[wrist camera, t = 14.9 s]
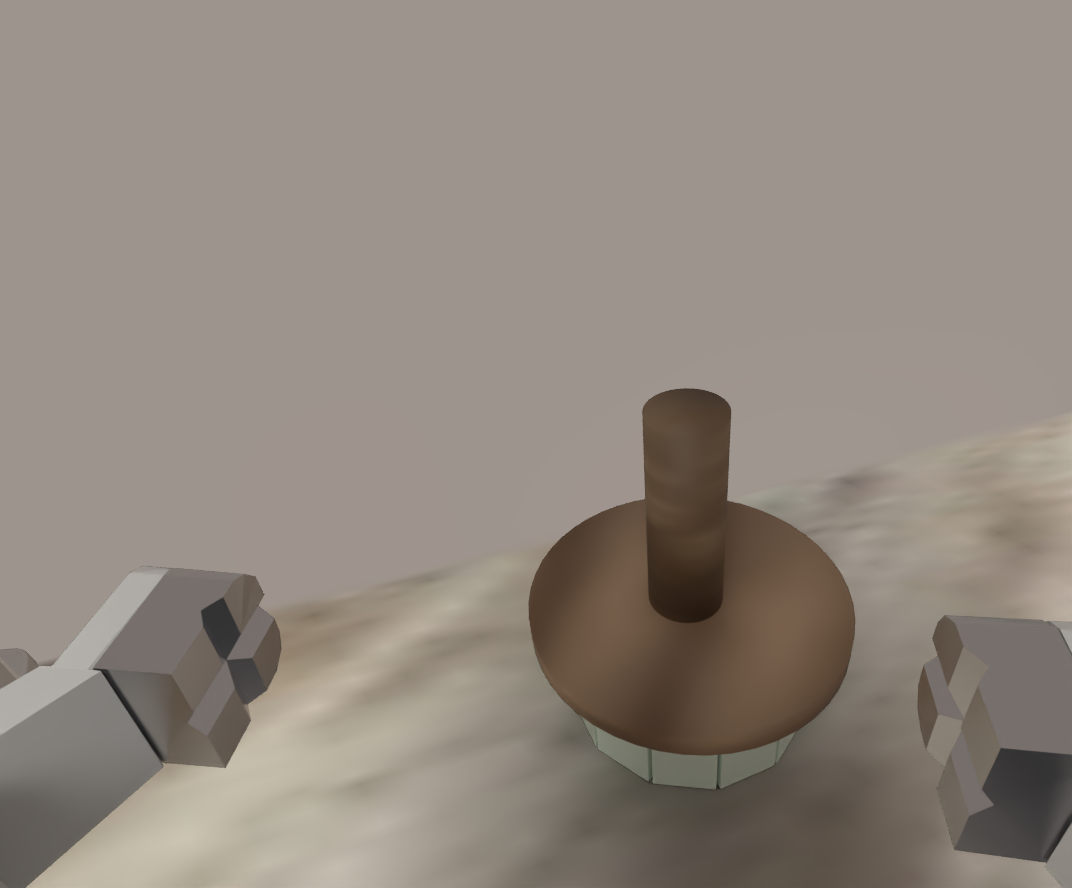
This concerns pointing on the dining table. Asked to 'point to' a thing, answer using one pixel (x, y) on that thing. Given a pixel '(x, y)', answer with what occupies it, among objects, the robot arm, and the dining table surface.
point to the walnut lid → (691, 603)
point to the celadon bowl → (688, 762)
